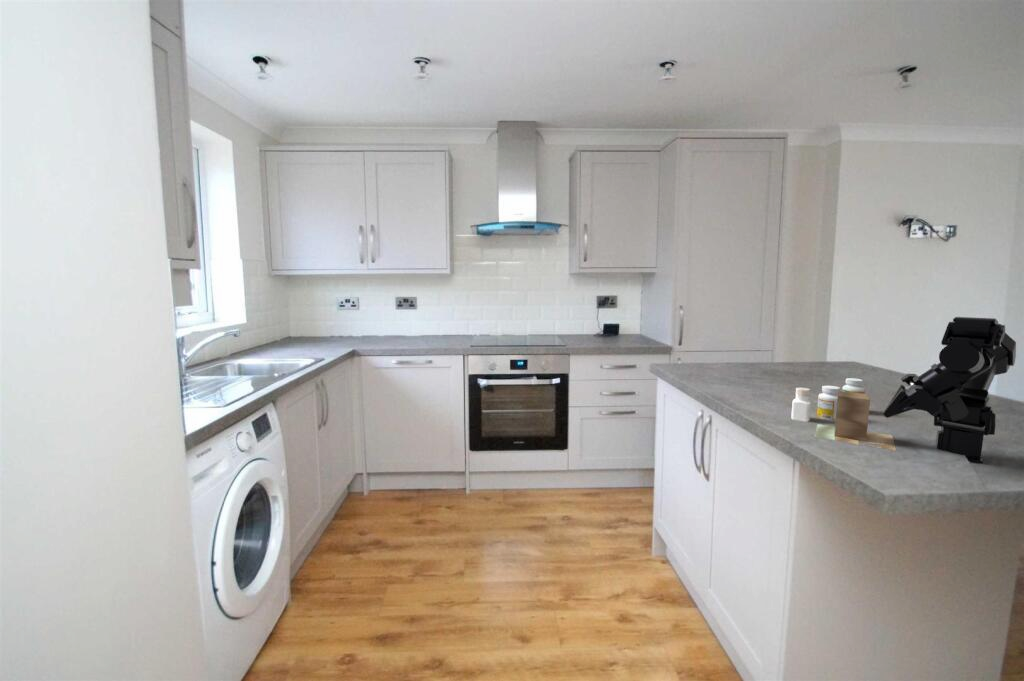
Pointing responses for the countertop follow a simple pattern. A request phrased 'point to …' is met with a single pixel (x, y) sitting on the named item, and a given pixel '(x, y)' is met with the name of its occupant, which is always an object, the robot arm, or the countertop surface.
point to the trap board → (875, 438)
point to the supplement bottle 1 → (828, 402)
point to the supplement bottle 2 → (854, 386)
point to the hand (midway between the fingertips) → (884, 415)
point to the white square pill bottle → (801, 405)
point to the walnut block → (852, 415)
